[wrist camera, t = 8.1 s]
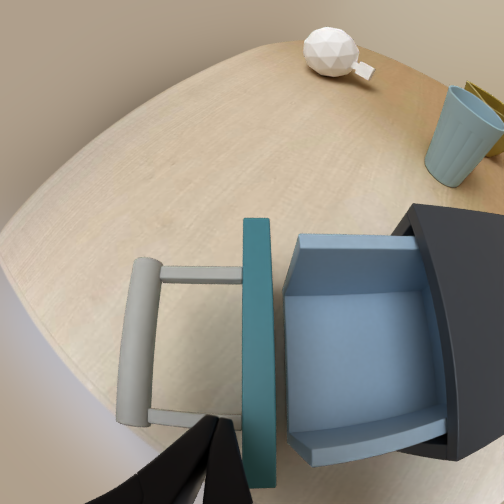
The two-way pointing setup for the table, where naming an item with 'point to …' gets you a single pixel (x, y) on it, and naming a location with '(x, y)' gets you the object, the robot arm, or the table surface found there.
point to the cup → (462, 136)
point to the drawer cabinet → (464, 321)
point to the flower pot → (496, 106)
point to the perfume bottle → (334, 54)
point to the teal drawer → (310, 349)
